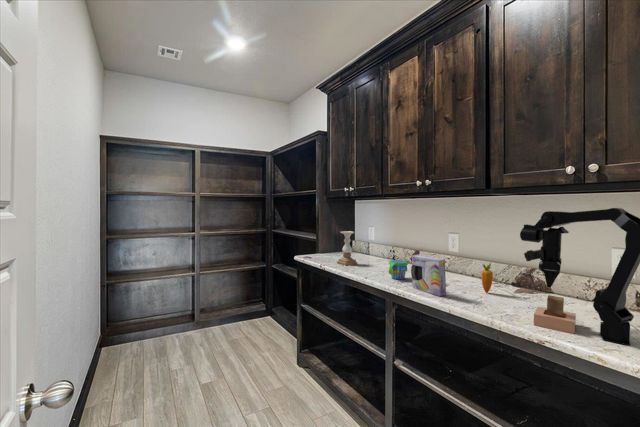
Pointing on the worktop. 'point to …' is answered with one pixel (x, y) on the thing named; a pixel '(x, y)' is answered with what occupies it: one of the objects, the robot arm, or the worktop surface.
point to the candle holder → (347, 250)
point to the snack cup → (398, 269)
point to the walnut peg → (555, 306)
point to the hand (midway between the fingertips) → (549, 284)
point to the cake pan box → (429, 274)
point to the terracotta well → (555, 320)
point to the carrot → (487, 277)
